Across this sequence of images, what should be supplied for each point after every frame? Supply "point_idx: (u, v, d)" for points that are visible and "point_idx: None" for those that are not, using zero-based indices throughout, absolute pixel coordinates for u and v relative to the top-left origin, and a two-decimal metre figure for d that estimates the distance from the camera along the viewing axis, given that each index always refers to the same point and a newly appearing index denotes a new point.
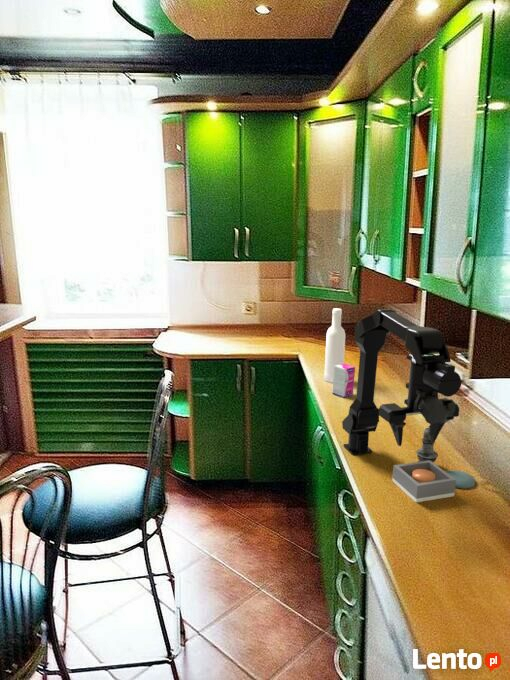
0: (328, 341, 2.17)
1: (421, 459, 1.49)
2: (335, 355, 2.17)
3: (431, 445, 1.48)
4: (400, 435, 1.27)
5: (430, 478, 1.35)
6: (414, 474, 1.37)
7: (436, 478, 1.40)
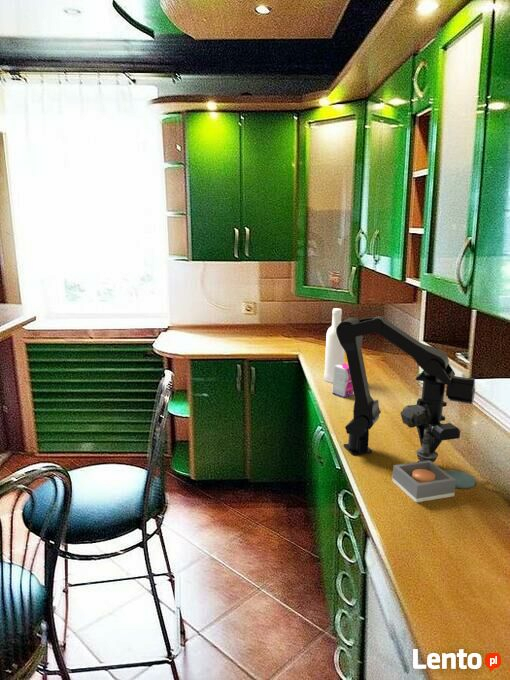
0: (328, 341, 2.17)
1: (421, 459, 1.49)
2: (335, 355, 2.17)
3: None
4: (419, 436, 1.51)
5: (430, 478, 1.35)
6: (414, 474, 1.37)
7: (436, 478, 1.40)
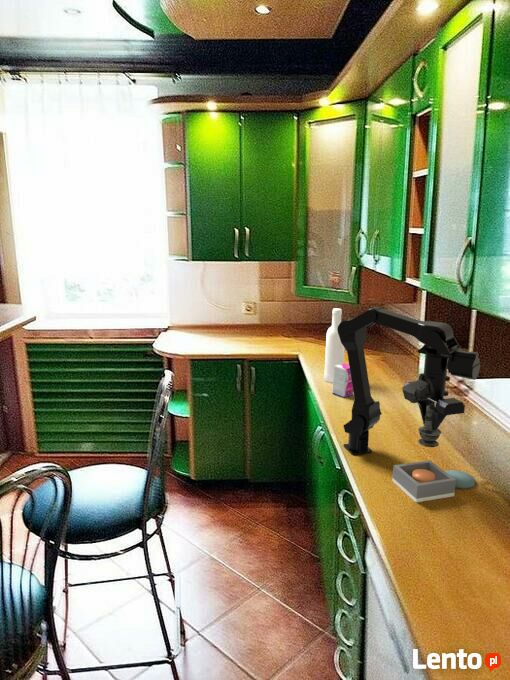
0: (328, 341, 2.17)
1: (424, 436, 1.43)
2: (335, 355, 2.17)
3: None
4: (421, 413, 1.45)
5: (430, 478, 1.35)
6: (414, 474, 1.37)
7: (436, 478, 1.40)
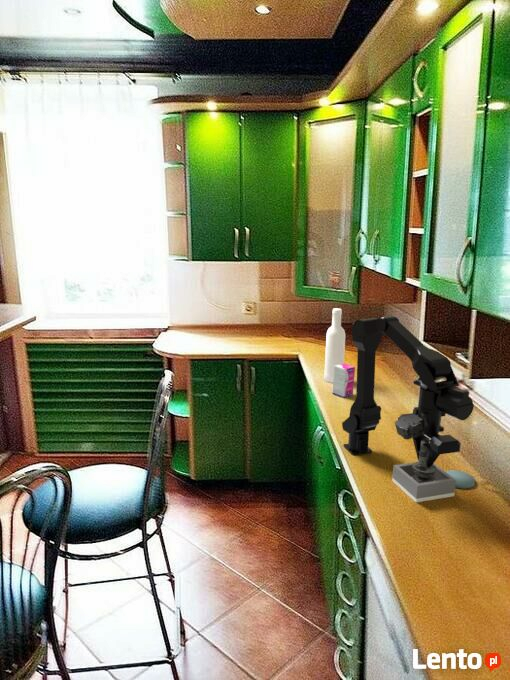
0: (328, 341, 2.17)
1: (418, 473, 1.36)
2: (335, 355, 2.17)
3: None
4: (415, 448, 1.38)
5: None
6: None
7: (436, 478, 1.40)
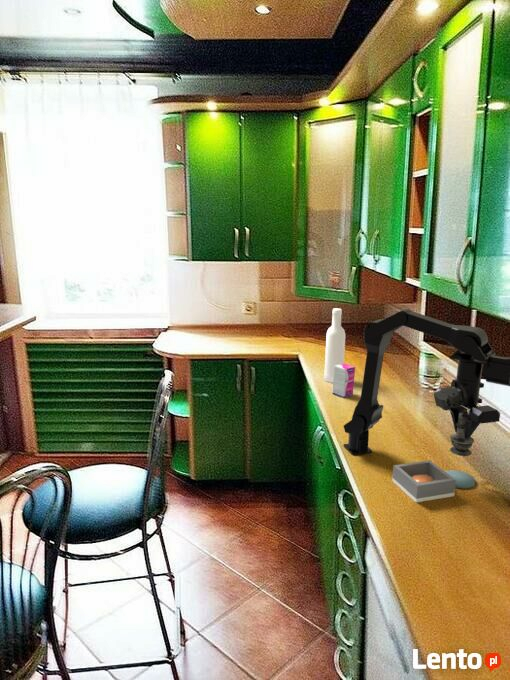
0: (328, 341, 2.17)
1: (456, 445, 1.38)
2: (335, 355, 2.17)
3: None
4: (453, 420, 1.40)
5: None
6: None
7: (436, 478, 1.40)
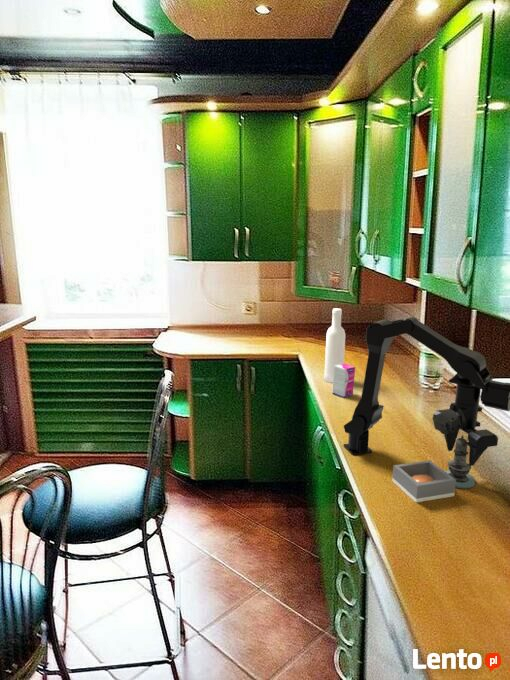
0: (328, 341, 2.17)
1: (453, 471, 1.40)
2: (335, 355, 2.17)
3: (464, 457, 1.39)
4: (446, 439, 1.44)
5: None
6: None
7: (436, 478, 1.40)
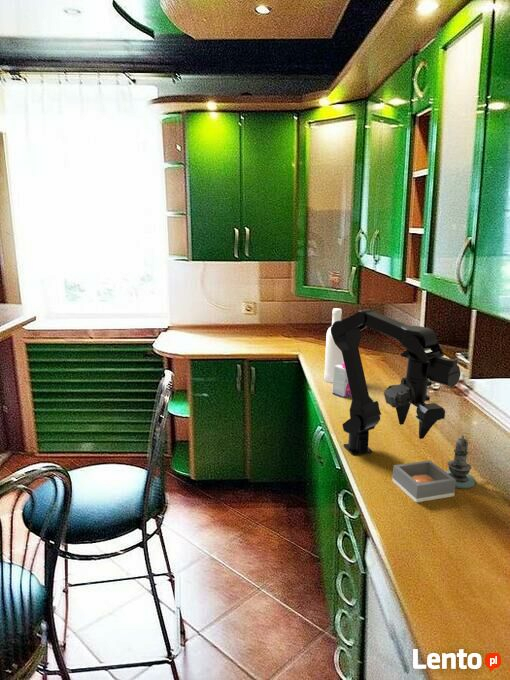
0: (328, 341, 2.17)
1: (453, 471, 1.40)
2: (335, 355, 2.17)
3: (464, 457, 1.39)
4: (397, 413, 1.48)
5: None
6: None
7: (436, 478, 1.40)
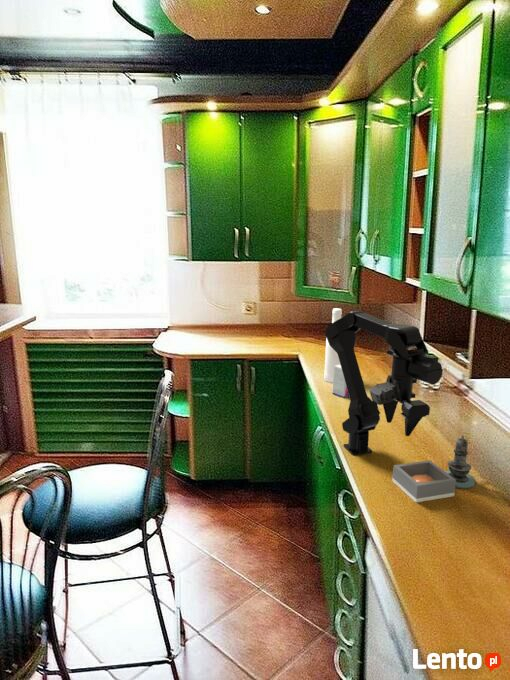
0: None
1: (453, 471, 1.40)
2: (335, 355, 2.17)
3: (464, 457, 1.39)
4: (385, 411, 1.49)
5: None
6: None
7: (436, 478, 1.40)
